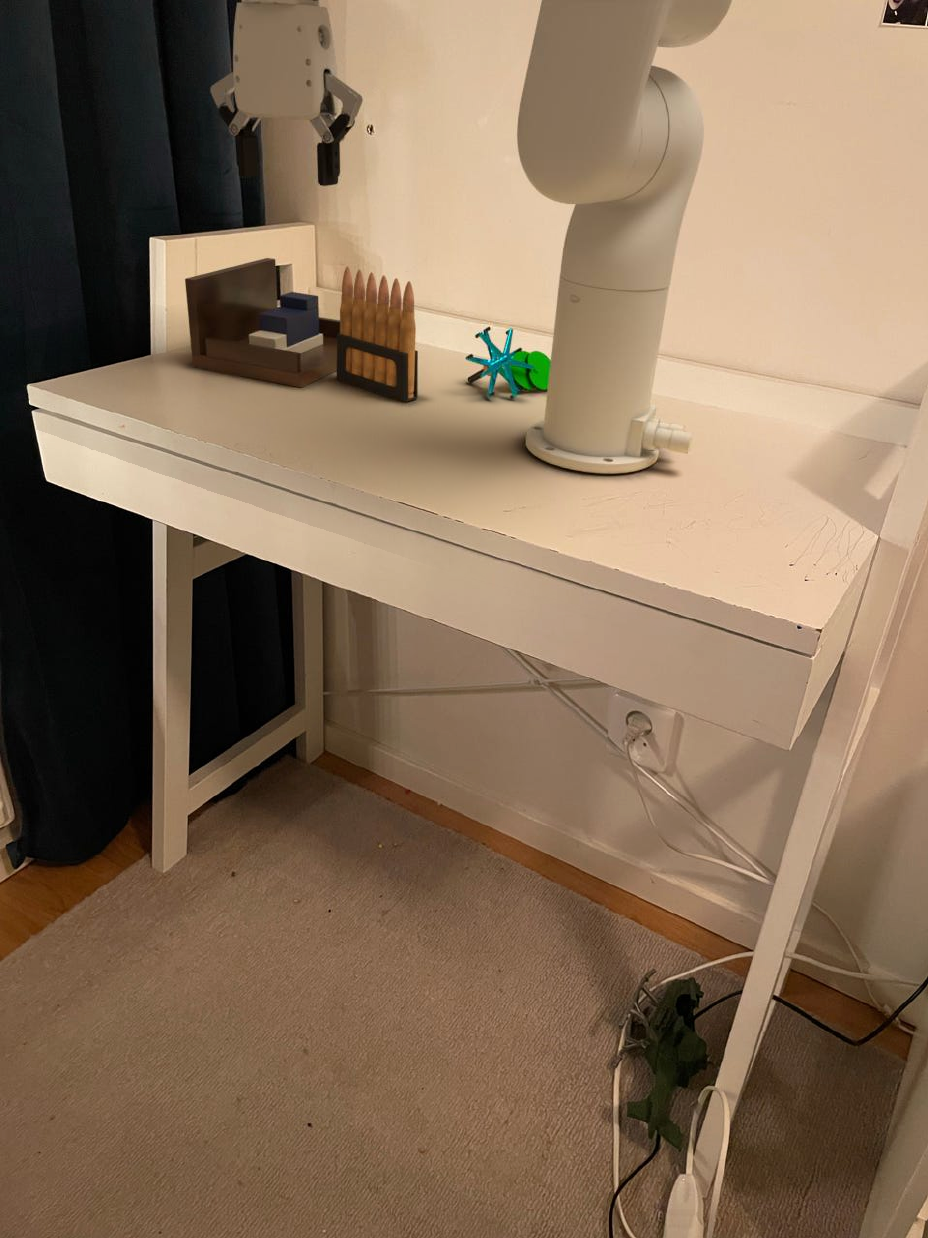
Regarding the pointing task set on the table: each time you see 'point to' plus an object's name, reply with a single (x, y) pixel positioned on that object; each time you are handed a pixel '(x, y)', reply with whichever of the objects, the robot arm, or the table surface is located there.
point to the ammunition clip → (377, 338)
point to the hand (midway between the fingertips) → (288, 180)
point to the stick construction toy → (512, 366)
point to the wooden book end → (249, 327)
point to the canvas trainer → (290, 324)
